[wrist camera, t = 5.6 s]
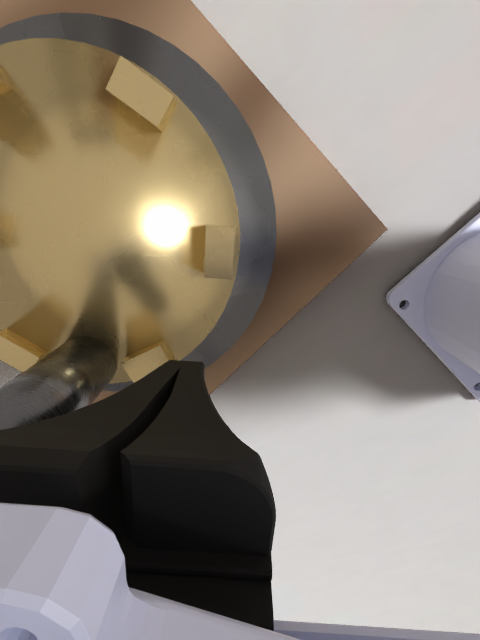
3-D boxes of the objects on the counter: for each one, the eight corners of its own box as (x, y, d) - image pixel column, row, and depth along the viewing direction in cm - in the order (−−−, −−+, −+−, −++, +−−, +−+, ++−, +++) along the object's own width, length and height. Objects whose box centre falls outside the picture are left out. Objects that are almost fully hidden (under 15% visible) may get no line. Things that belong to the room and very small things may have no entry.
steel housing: (341, 230, 14) (351, 231, 13) (140, 424, 18) (131, 442, 16) (68, -72, 11) (42, -114, 10) (-108, 239, 15) (-145, 242, 13)
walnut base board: (374, 228, 16) (387, 229, 14) (152, 437, 20) (145, 454, 19) (78, -112, 12) (56, -157, 10) (-116, 237, 16) (-151, 240, 15)
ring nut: (151, 410, 15) (89, 539, 9) (-90, 274, 13) (-375, 325, 7) (300, 195, 12) (355, 175, 6) (9, -26, 10) (-358, -401, 4)
